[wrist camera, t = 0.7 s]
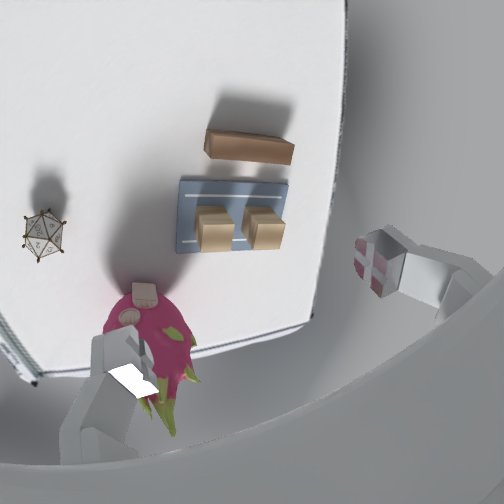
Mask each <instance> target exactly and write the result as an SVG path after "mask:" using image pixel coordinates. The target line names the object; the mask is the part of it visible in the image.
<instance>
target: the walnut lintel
mask: <svg viewBox="0 0 504 504" xmlns="http://www.w3.org/2000/svg"><path fill="white" fill-rule="evenodd" d="M294 146H295V145H294V144H292V143H290V142H288V141H286V140H284V139H282V138H280V137H273V136H266V135H258V134H250V133H242V132H232V131H222V130H209V129H206V135H205V142H204V151H205V152H206V153H207V155H208V156H209V157H210V158H211V159H226V160H240V161H252V162H263V163H273V164H283V165H290V164H291V159H292V155H293V151H294Z"/></svg>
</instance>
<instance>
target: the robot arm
mask: <svg viewBox="0 0 504 504" xmlns="http://www.w3.org/2000/svg"><path fill="white" fill-rule="evenodd" d="M355 248H356V249H357V250H358V252H357V254H356V255H355V257H354V265H355V268H356V271H357V273H358V275H359V276H360V277H361V278H362V279H363V280H364V281H368V282H370V288H371V289H372V290H373V291H374V292H375V293H376V294H377V295H378V296H379V297H380V298H383V297H385V296H387V295H389V294H391V293H393V292H395V291H397V290H398V291H399V292H402V293H404V294H406V295H409V296H411V297H413V298H415V299H418V300H420V301H422V302H425V303H427V304H429V305H431V306H434V307H436V308H438V309H439V310H438V312H437V314H436V316H435V322H436V323H437V324H438V326H436V327H435V328H434V329H432V330H431V331H430V332H428V333H427V334H426V335H424V336H423V337H422V338H420V339H419V340H417V341H416V342H415V343H413V344H412V345H410V346H409V347H407V348H406V349H405V350H403V351H401V352H400V353H398V354H397V355H395V356H394V357H392V358H390V359H389V360H387V361H386V362H384V363H382V364H381V365H379V366H378V367H376V368H374V369H373V370H371V371H369V372H368V373H366V374H364V375H362V376H361V377H359V378H357V379H355V380H354V381H352V382H350V383H348V384H346V385H344V386H343V387H341V388H339V389H337V390H335V391H333V392H331V393H329V394H327V395H325V396H323V397H321V398H319V399H317V400H315V401H313V402H311V403H308V404H306V405H304V406H302V407H300V408H298V409H295V410H293V411H291V412H288V413H286V414H284V415H281V416H279V417H276V418H274V419H272V420H269V421H266V422H264V423H262V424H259V425H256V426H253V427H251V428H248V429H245V430H242V431H239V432H237V433H233V434H230V435H228V436H225V437H221V438H218V439H215V440H211V441H208V442H204V443H201V444H197V445H194V446H190V447H186V448H182V449H178V450H174V451H170V452H165V453H160V454H155V455H150V456H145V457H139V453H138V451H137V450H135V449H134V448H131V447H129V446H127V445H125V444H124V441H125V437H126V434H127V431H128V427H129V424H130V421H131V418H132V415H133V412H134V409H135V406H136V403H137V400H138V399H137V398H139V397H142V396H146V395H149V394H152V393H155V392H158V385H157V379H156V375H155V374H154V372H153V371H152V368H153V366H154V360H153V356H152V353H151V350H150V348H149V346H148V344H147V343H146V341H145V340H144V339H142V338H139V337H138V331H137V330H136V328H135V327H134V326H133V325H129V326H126V327H123V328H120V329H116V330H113V331H110V332H107V333H105V334H101V335H98V336H95V337H93V339H92V344H91V369H90V377H88V378H87V379H86V380H85V382H84V384H83V386H82V388H81V390H80V392H79V393H78V395H77V397H76V399H75V401H74V403H73V405H72V407H71V409H70V410H69V412H68V414H67V416H66V418H65V420H64V422H63V424H62V426H61V428H60V430H59V440H60V459H61V465H54V466H42V465H40V466H39V465H37V466H36V465H17V464H6V463H0V504H504V267H503V268H502V269H501V270H500V271H499V273H497V275H495V276H493V275H492V274H490V273H489V272H488V271H487V270H486V269H485V268H483V267H482V266H481V265H480V264H479V263H477V262H476V261H475V260H474V259H473V258H470V257H466V256H463V255H459V254H455V253H452V252H448V251H444V250H441V249H437V248H433V247H429V246H425V245H419V246H418V245H417V244H416V243H414V242H413V241H412V240H411V239H409V238H408V237H407V236H405V235H404V234H403V233H401V232H400V231H399V230H397V229H396V228H395V227H393V226H392V225H386V226H384V227H382V228H380V229H378V230H375V231H373V232H370V233H368V234H366V235H363V236H361V237H359V238H357V240H356V242H355Z"/></svg>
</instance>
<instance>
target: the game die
mask: <svg viewBox="0 0 504 504" xmlns="http://www.w3.org/2000/svg"><path fill="white" fill-rule="evenodd" d="M49 212H50V208H49V209H48V212H46V213H43V211H42V210H41V212H40V215H37V216H34V217H30V218H27V217H26V216H24V219H26V233H25V235H23V238H25V244H23V245H22V247H23V248H24V247H25V246H26V247H27V248H28V249H29V250H30V251H31V252H32V253H33V254H34V255H35V256H36V257H37V258H38V259H37V263H39V262H40V261H39V260H40V258H42V257H44V256H47V255H49V254H52V253H55V252H57V251H61V253H64V250H62V249H61V241H62V230H63V224H66V223H67V221H63V223H62V222H60V221H59V220H58V219H57V218H55V217H54V216H53V215H52V214H51V213H49Z"/></svg>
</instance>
